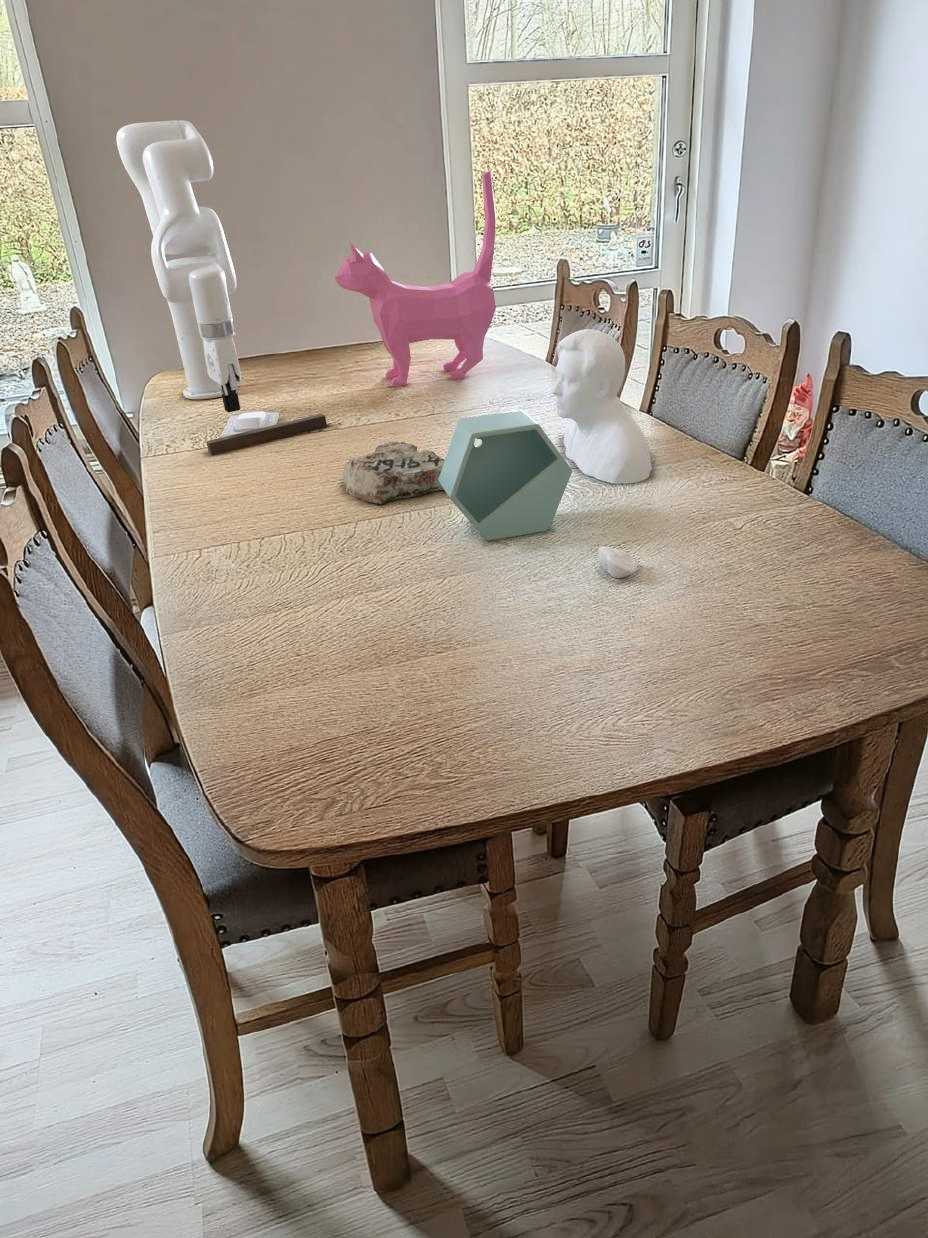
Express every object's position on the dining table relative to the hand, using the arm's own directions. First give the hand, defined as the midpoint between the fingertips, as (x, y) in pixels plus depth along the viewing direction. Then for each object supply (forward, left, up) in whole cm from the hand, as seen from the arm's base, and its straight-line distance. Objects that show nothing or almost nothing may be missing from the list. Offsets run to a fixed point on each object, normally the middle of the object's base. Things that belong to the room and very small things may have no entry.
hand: (232, 410), depth 199 cm
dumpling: (+114, +16, -1) cm, 116 cm away
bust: (+77, +44, -1) cm, 89 cm away
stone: (+60, +9, -1) cm, 61 cm away
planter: (+91, +13, -1) cm, 92 cm away
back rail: (+22, 0, -1) cm, 22 cm away
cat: (+5, +49, -1) cm, 49 cm away
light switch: (+13, -1, -2) cm, 13 cm away
